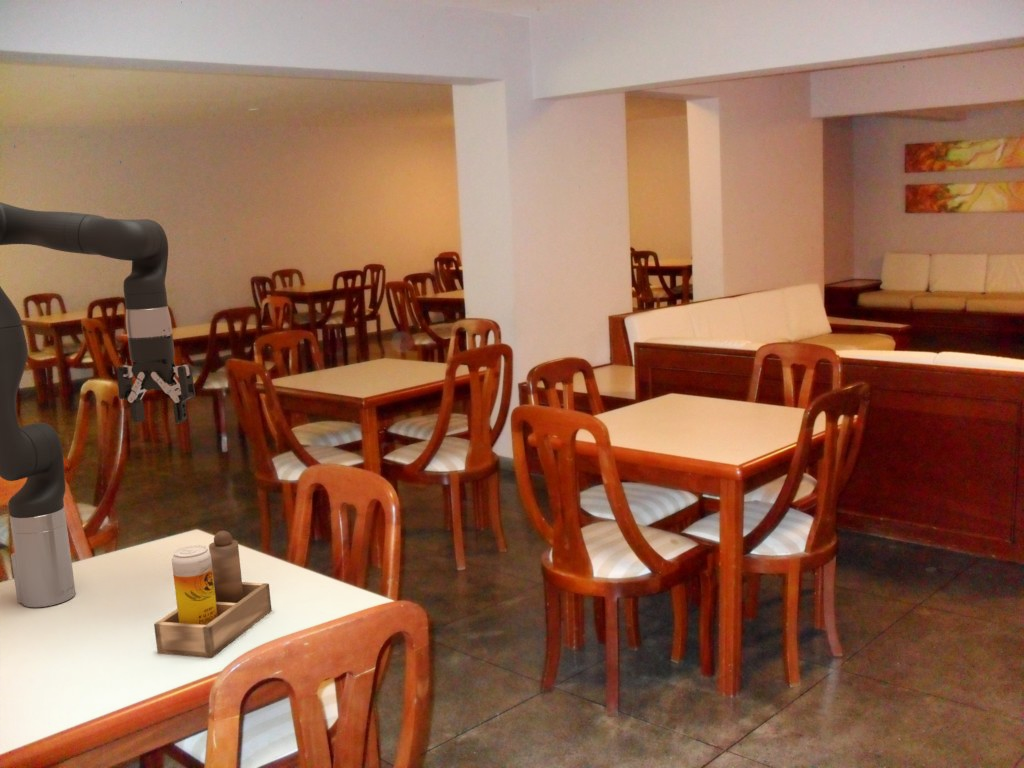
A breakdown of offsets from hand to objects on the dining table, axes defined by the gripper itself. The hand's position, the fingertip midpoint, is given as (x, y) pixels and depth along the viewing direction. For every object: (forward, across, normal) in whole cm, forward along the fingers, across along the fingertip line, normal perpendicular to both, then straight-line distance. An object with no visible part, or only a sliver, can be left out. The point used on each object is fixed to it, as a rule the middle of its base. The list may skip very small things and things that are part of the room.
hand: (160, 422), depth 179 cm
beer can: (+32, +16, -18) cm, 40 cm away
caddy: (+33, +16, -13) cm, 39 cm away
